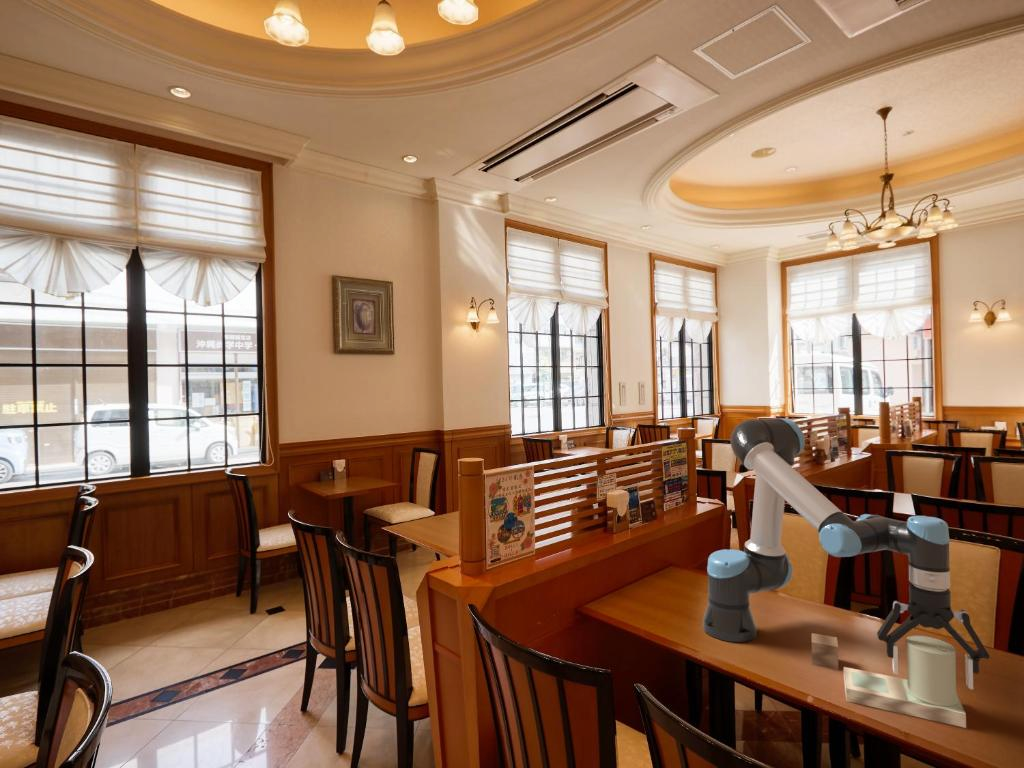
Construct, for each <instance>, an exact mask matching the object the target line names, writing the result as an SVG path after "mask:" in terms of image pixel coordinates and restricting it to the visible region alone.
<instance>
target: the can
mask: <svg viewBox="0 0 1024 768" xmlns="http://www.w3.org/2000/svg"><path fill="white" fill-rule="evenodd" d="M905 643H906V644H905V646H906V669H907V670H906V671H907V672H906V674H907V675H906V677H907V691H908V692H909V693H910V694H911V695H912V696H914V697H915V698H917V699H919V700H921V701H924V702H926V703H929V704H933V705H937V706H954V705H956V704H957V702H958V700H957V696H958V695H956V694H957V671H956V669H957V664H956V663H957V661H956V660H957V659H956V658H957V656H956V654H957V649H956V648H955V647H954V645H952V644H950V643H948V642H947V641H944V640H942V639H939V638H935V637H932V636H931V637H930V636H925V635H910V636H907V637H906V639H905Z"/></svg>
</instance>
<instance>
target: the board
mask: <svg viewBox="0 0 1024 768" xmlns="http://www.w3.org/2000/svg"><path fill="white" fill-rule="evenodd" d="M843 682H844V683H843V684H844V692H845V700H846V702H848V703H853V704H859V705H861V706H868V707H872V708H874V709H875V708H876V709H879V710H884V711H888V712H894V713H899V714H902V715H906V716H911V717H916V718H920V719H921V718H922V719H925V720H929V721H933V722H938V723H942V724H945V725H946V724H947V725H951V726H955V727H960V728H963V729H964V728H965V729H967V716H966V715H967V714H966V711H965V710H964V707H963V704H962V703H961V701H960V699H959V696H958V695H957V694H958V693H956V695H957V700H958V702H957V704H956V705H954V706H937V705H933V704H929V703H926V702H924V701H921V700H919V699H917V698H915V697H914V696H912V695H911V694H910V693H909V692H908V691H907V679H906V678H903V677H902V678H901V677H897V676H891V675H886V674H882V673H876V672H871V671H867V670H861V669H856V668H852V667H847V666H843Z"/></svg>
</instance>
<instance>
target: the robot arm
mask: <svg viewBox="0 0 1024 768" xmlns="http://www.w3.org/2000/svg"><path fill="white" fill-rule="evenodd" d="M730 434H731V435H730V446H731V450H732V452H733V455H734V456H735V457H736V458H737V460H738V461H739V462H740V463H741V464H742V465H743V466H744V467H745V468H746V469H748V470H751V471H752V470H753V471H755V481H754V483H755V484H754V490H753V491H754V493H753V504H752V505H753V506H752V516H751V517H752V518H751V527H750V537H749V538H750V539H748V540H747V541H745V542H744V546H743V551H742V550H740V549H731V548H729V549H726V548H725V549H720V550H716V551H714V552H712V553H711V554H710V555H709V556H708V558H707V566H706V569H707V570H706V571H707V589H708V590H707V591H708V592H707V595H708V597H707V598H708V601H707V605H706V609H705V612H704V615H703V619H702V629H703V631H704V632H705V633H706V632H707V633H708V636H710V637H713V638H715V639H718V640H722V641H726V642H732V643H744V642H749V641H753V640H754V639H755V638H757V625H756V622H755V620H754V616H753V613H752V611H751V608H750V595H751V594H756V593H761V592H766V591H776V590H778V589H780V588H784V587H785V586H787V584H789V583H790V581H791V578H792V576H793V566H792V563H791V562H790V558H789V556H788V555H787V554H786V549H785V548H784V547H783V545H782V533H783V523H784V522H783V521H784V512H785V502H787V504H789V505H790V507H792V508H793V509H794V510H795V511H796V512H797V513H798V514H799V515H800V516H801V517H802V518H803V519H804V520H806V522H807V523H809V525H811V526H812V528H814V529H815V530H816V531H817V532H818V533H819V536H818V538H819V543H820V545H821V546H822V549H823V550H824V552H826V553H827V554H828V555H830V556H832V557H835V558H847V557H848V558H850V557H855V556H857V555H862V554H866V553H867V554H868V553H875V552H879V551H884V550H885V551H886V550H887V551H890V552H895V553H899V554H902V555H907V556H908V581H909V582H910V583H909V584H908V591H909V592H908V593H909V595H908V596H909V599H908V600H909V601H908V604H906V603H901V602H899V601H898V600H893V602H892V608H891V610H890V612H889V614H888V615H887V616H886V618H885V619H884V621H883V622H882V624H881V626H880V627H879V629H878V631H877V632H876V636H877V638H878V640H879V641H880V642H881V641H883V642H884V643H886V655H887V657H888V658H891V659H892V671H893V675H897V676H898V675H899V663H898V662H899V657H898V656H899V654H898V645H897V642H898V641H899V640H900V639H901V638H903V637H904V636H905V635H907V633H909V632H911V630H912V629H915V628H916V627H917V626H921V627H922V628H932V629H934V630H940V629H944V630H946V631H947V633H948V634H950V636H952V638H953V639H954V640H955V641H956V642H957V643H958V644H959V645H960V647H962V649H963V650H964V651H966V653H965V654H964V658H965V661H964V662H965V664H964V665H965V684H966V686H967V688H968V689H969V690H974V674H976V675H977V674H979V673H980V669H979V667H980V663H979V661H981V659H986V660H987V659H989V658H990V654H989V653H988V651H987V649H986V648H985V647H984V646H985V645H984V644H983V643H982V641H981V639H980V638H979V636H978V635H977V633H976V631H975V630H974V628H973V626H972V623H971V620H970V619H971V618H970V615H969V614H968V612H967V611H966V610H964V609H961V610H959V611H956V610H955V611H954V610H952V605H951V603H952V602H951V598H952V597H951V590H950V588H951V573H950V572H951V571H950V543H951V539H950V533H949V525H948V523H947V522H946V521H945V520H943V519H941V518H938V517H935V516H927V515H911V516H909V517H908V519H907V521H903V520H898V519H894V518H888V517H884V516H881V515H879V514H868V513H864V514H861V515H860V516H859V517H858V518H856V520H852V518H850V517H848V516H847V515H846V514H845V513H844V512H843V511H842V510H841V509H839V507H837V506H836V505H835V504H834V503H833V502H832V501H831V500H829V499H828V498H827V497H826V496H825V495H823V493H822V492H820V491H819V489H817V488H816V487H815V486H814V485H812V484H811V482H809V481H808V480H807V479H806V478H805V477H803V476H802V475H801V474H800V473H799V472H798V471H797V470H796V469H794V468H793V466H794V464H795V457H796V456H798V455H799V454H801V452H802V451H803V450H804V447H805V443H806V440H805V435H804V432H803V430H802V429H801V427H799V424H797V423H796V422H795V421H794V420H792V419H789V418H783V417H782V418H781V417H773V418H759V419H753V418H752V419H746V420H743V421H741V422H739V423H738V424H737V425H736V426H735V427H734V428H733V430H732V431H731V433H730ZM905 611H908V612H909V614H910V615H909V616H907V618H906V619H905V620H904V621H903V622H902V623H900V624H899V625H897V627H896V628H894V629H893V630H892V631H891V629H892V628H893V626H894V625H895V623H896V622H897V620H898V619H899V617H900V615H901V614H903V613H904V612H905ZM954 618H956V619H957V621H958V622H959V623H962V624H963V626H964V628H965V630H966V631H967V633H968V635H969V636H970V638H971V639H972V641H973V643H974V645H975V646H976V648H977V649H974V648H973V647H972V646H971V644H969V642H967V640H965V638H964V637H963V636H962V635H961V634H960V633H959V632H958V631H957V630H956V628H954V627H953V626H952V624H951V623H950V622H951V621H952V620H953V619H954ZM890 631H891V632H890ZM707 633H706V634H707Z"/></svg>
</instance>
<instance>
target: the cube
mask: <svg viewBox="0 0 1024 768" xmlns="http://www.w3.org/2000/svg"><path fill="white" fill-rule="evenodd" d="M838 643H839V642H838V637H837V636H831V635H825V634H819V633H813V632H812V633H811V665H813V666H818V667H822V668H828V669H834V670H837V671H838V670H839V645H838Z"/></svg>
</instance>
